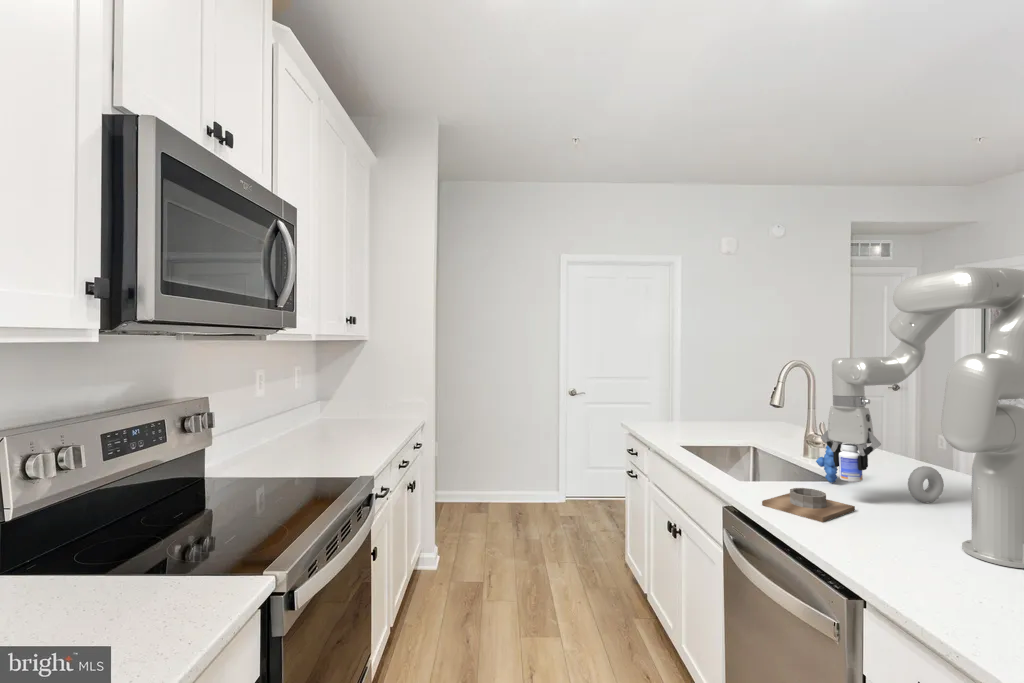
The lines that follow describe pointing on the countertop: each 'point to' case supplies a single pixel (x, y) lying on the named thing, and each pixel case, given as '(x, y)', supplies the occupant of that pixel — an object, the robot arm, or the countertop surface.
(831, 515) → the base
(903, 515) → the countertop surface
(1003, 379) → the robot arm
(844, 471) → the pill bottle
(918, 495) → the donut
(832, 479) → the grapes
